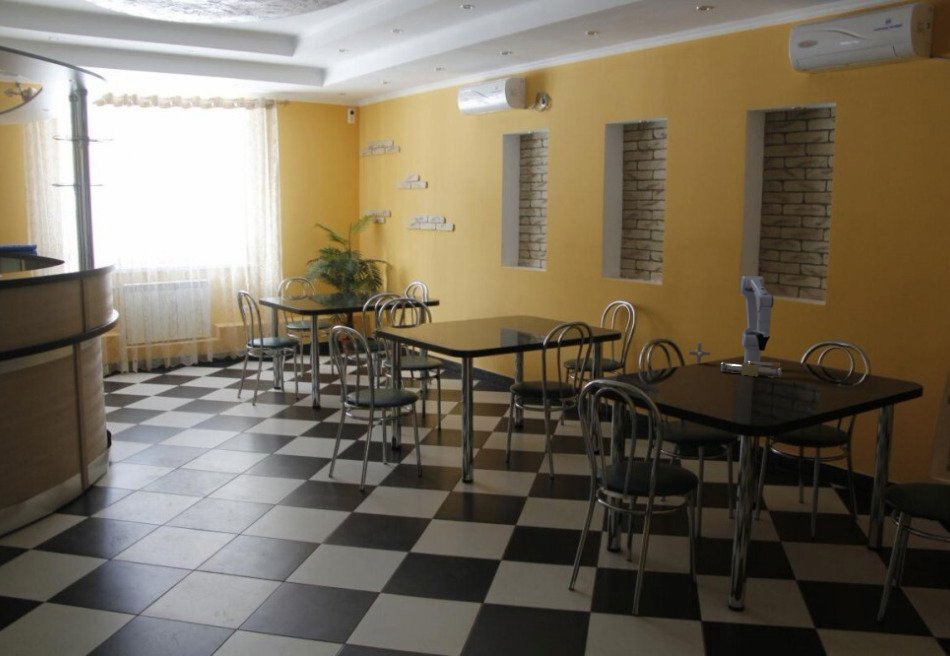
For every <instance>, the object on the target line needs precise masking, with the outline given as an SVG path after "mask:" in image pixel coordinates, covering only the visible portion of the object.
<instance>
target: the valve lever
mask: <svg viewBox="0 0 950 656" xmlns="http://www.w3.org/2000/svg"><path fill="white" fill-rule="evenodd" d="M748 364H760V365H762V366H763V365H764V366H770V367H774V368H779V367H780V366H781V362H768V361H767V362H765V361H760V362H757V361H751V360H750V361H748Z"/></svg>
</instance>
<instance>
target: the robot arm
mask: <svg viewBox="0 0 950 656" xmlns="http://www.w3.org/2000/svg"><path fill="white" fill-rule="evenodd" d="M740 291H741V295H743V296H744V299H745V310H746V321H747V322H746V323H747V327H746V328H745V329H744V330H743V332H742V333H741V345H742V347H743V348H744V358H743V363H744V362H747V363H748V361H750V360H751V361H757V362H761V355H762V353H761V352H764V351H766V347H767V343H768V341H769V340H770V333H771V330H770V329H771V320H772V319H771V316H772V308H774V304H775V303H774V302H775V300H774V296H773V294H769V292H768V290H767V289H766V287H765V279H764V277H763V276H762V275H761V276H757V275H755V276H753V275H750V276H749V275H742V276H741V279H740ZM760 366H763V365H760Z"/></svg>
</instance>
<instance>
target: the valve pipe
mask: <svg viewBox="0 0 950 656" xmlns="http://www.w3.org/2000/svg"><path fill="white" fill-rule="evenodd" d="M782 370H783V369H782V366H781V367H774V366H763V365H762V366H760V364H748V363H747V362H744V361H743V363H741V364H740V363H734V362H733V363H732V362H725V361H721V362H720V371H721V372H724V371H725V372H731V374H732V373H737V372H738V373H741V374H740V375H741V376H744V375H748V376H747V377H753V376H755V378H757V377H758V378H759V376H760V375H765V376H768V378H769V377H771V378H772V379H774V378H775V377H777V378H781V377H782ZM738 373H737V374H738ZM759 374H760V375H759ZM758 375H759V376H758Z"/></svg>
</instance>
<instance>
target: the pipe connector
mask: <svg viewBox="0 0 950 656" xmlns="http://www.w3.org/2000/svg"><path fill="white" fill-rule="evenodd" d="M702 343H703V342H697V347H696V349H695V350H688V352H687V354H688V355H689V356H690V355H691V356H692V355H693V356H696V362H695V363H696V364H701V360H702V359H701V358H703V357H704V356H710V355H711V351H706V350H702Z"/></svg>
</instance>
